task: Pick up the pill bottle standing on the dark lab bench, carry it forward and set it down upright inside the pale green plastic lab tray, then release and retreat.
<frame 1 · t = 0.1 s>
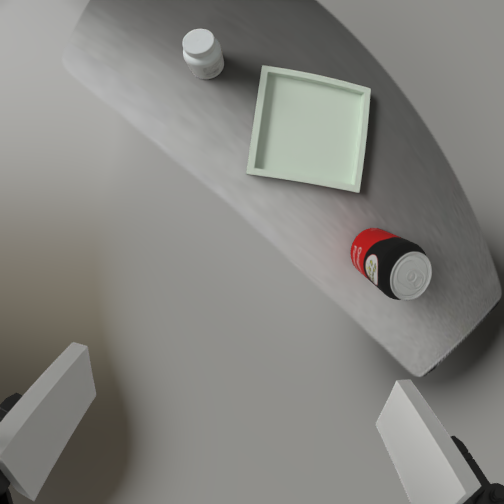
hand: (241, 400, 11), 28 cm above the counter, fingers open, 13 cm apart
pill bottle: (207, 65, 32), on the counter
tray: (309, 128, 34), on the counter
beverage can: (368, 249, 38), on the counter
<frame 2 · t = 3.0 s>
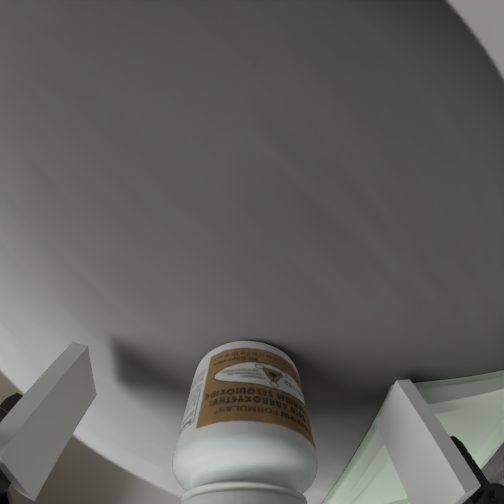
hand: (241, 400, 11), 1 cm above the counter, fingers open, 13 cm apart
pill bottle: (246, 376, 12), on the counter
tray: (433, 451, 14), on the counter
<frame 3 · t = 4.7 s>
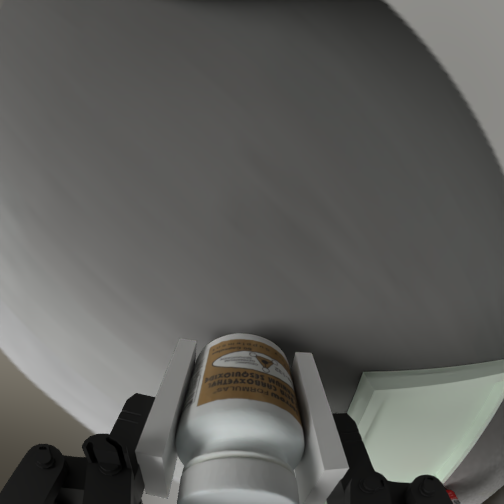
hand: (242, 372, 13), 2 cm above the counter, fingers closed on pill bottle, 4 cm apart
pill bottle: (242, 367, 13), point 1 cm above the counter, touching gripper
tray: (412, 440, 16), on the counter
beverage can: (427, 499, 20), on the counter
when the fingers open (1 cm above the counter, at t = 9.5 s): pill bottle stays where it is, resting on tray.
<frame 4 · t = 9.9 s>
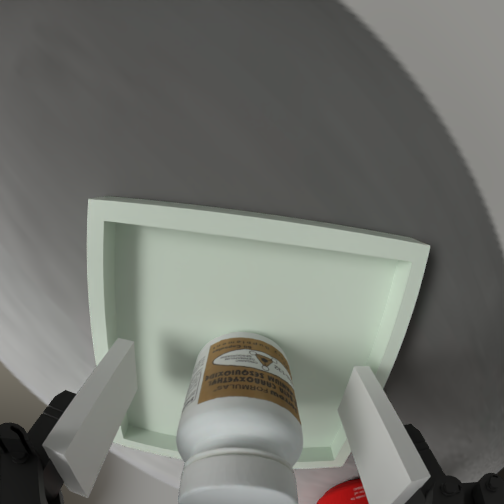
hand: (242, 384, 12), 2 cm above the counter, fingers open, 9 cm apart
pill bottle: (242, 365, 14), resting on tray
tray: (243, 358, 14), on the counter
beverage can: (349, 489, 18), on the counter
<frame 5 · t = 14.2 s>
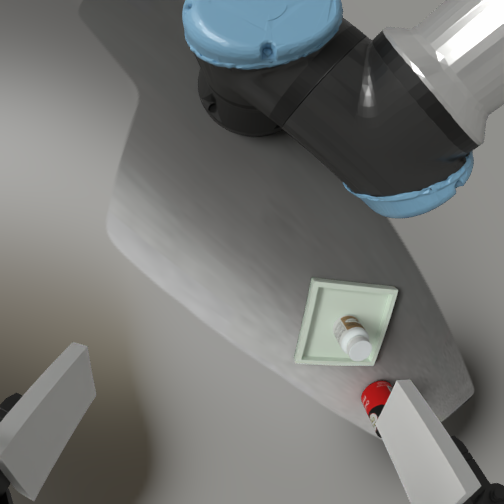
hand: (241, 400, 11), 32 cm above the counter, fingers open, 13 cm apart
pill bottle: (345, 325, 44), resting on tray
tray: (344, 323, 45), on the counter
beverage can: (374, 389, 49), on the counter
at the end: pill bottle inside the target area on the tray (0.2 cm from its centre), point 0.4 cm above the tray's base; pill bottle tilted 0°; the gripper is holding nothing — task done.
